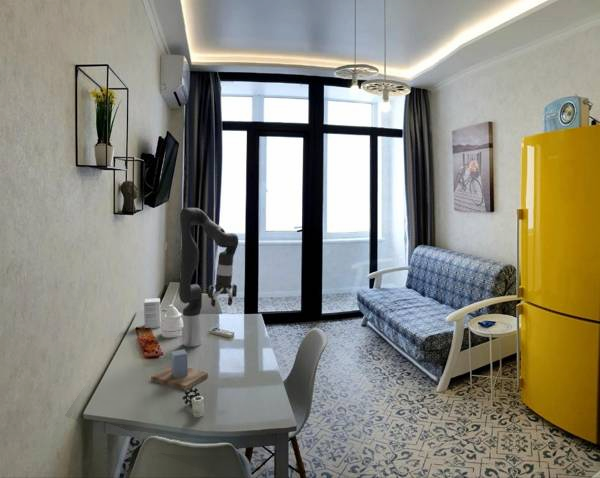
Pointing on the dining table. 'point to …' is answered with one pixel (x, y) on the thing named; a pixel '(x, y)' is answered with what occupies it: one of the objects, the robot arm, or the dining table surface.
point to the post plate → (179, 378)
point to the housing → (179, 363)
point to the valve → (195, 402)
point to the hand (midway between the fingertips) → (221, 305)
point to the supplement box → (152, 313)
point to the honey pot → (172, 323)
